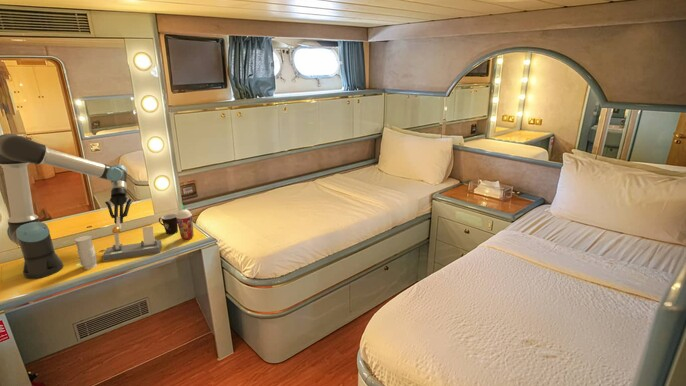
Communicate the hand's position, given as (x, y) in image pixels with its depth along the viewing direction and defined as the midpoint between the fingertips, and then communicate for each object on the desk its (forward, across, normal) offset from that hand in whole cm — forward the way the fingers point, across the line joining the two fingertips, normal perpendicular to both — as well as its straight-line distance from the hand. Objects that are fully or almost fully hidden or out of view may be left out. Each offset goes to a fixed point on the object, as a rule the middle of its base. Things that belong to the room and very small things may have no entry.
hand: (118, 228), depth 201 cm
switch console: (+14, -7, -2) cm, 16 cm away
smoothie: (+7, -33, -9) cm, 35 cm away
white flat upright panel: (+12, -15, 0) cm, 19 cm away
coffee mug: (-3, -23, -19) cm, 30 cm away
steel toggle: (+12, 0, 0) cm, 12 cm away
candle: (+21, +11, +4) cm, 24 cm away
